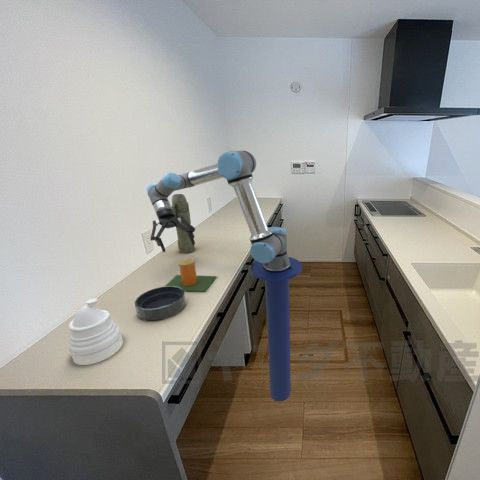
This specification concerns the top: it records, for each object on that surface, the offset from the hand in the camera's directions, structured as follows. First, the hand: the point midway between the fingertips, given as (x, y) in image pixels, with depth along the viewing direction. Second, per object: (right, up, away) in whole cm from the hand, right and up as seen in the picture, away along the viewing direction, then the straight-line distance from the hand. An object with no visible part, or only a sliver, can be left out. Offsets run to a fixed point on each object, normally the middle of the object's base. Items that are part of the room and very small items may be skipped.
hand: (179, 247), depth 128 cm
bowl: (+4, -24, -20) cm, 32 cm away
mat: (+6, -17, -1) cm, 18 cm away
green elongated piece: (-14, -3, +35) cm, 38 cm away
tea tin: (+6, -17, -1) cm, 18 cm away
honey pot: (-4, -33, -42) cm, 53 cm away
